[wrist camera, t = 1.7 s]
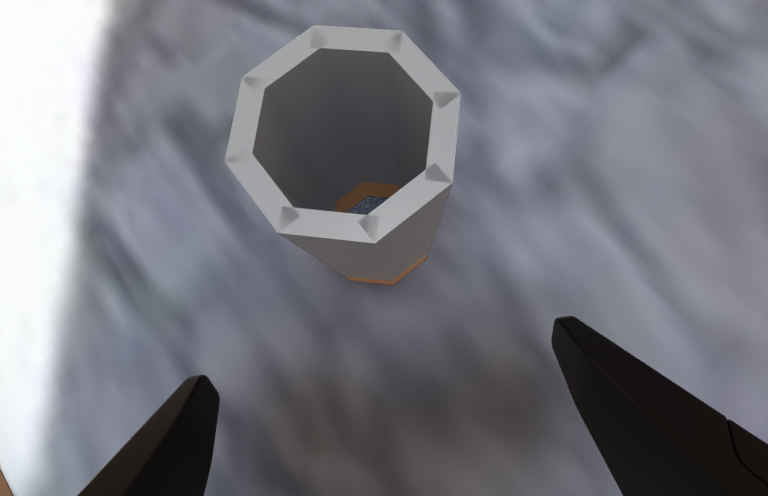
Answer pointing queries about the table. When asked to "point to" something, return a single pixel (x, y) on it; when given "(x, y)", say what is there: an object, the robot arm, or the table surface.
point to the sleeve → (349, 147)
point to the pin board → (4, 487)
